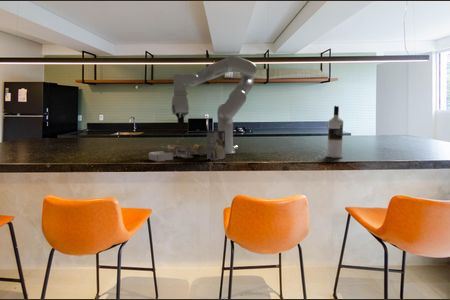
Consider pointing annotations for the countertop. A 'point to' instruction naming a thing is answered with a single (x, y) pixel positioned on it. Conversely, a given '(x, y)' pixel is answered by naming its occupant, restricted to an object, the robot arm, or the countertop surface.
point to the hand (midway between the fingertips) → (180, 123)
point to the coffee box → (215, 145)
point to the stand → (178, 154)
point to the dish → (160, 156)
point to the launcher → (184, 148)
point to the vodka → (335, 135)
